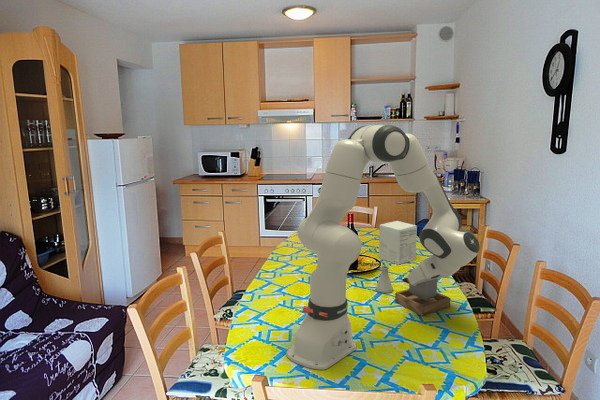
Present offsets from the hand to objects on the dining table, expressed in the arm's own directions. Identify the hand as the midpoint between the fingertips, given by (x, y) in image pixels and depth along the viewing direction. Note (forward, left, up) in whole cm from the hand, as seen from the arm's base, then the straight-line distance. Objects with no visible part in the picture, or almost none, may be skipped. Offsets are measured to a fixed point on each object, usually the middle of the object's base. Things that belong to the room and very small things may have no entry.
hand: (421, 281), depth 150 cm
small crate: (0, -1, -5) cm, 5 cm away
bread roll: (+20, +8, -9) cm, 23 cm away
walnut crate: (0, -1, -9) cm, 9 cm away
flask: (+5, +16, -9) cm, 19 cm away
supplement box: (+44, +25, -9) cm, 51 cm away
